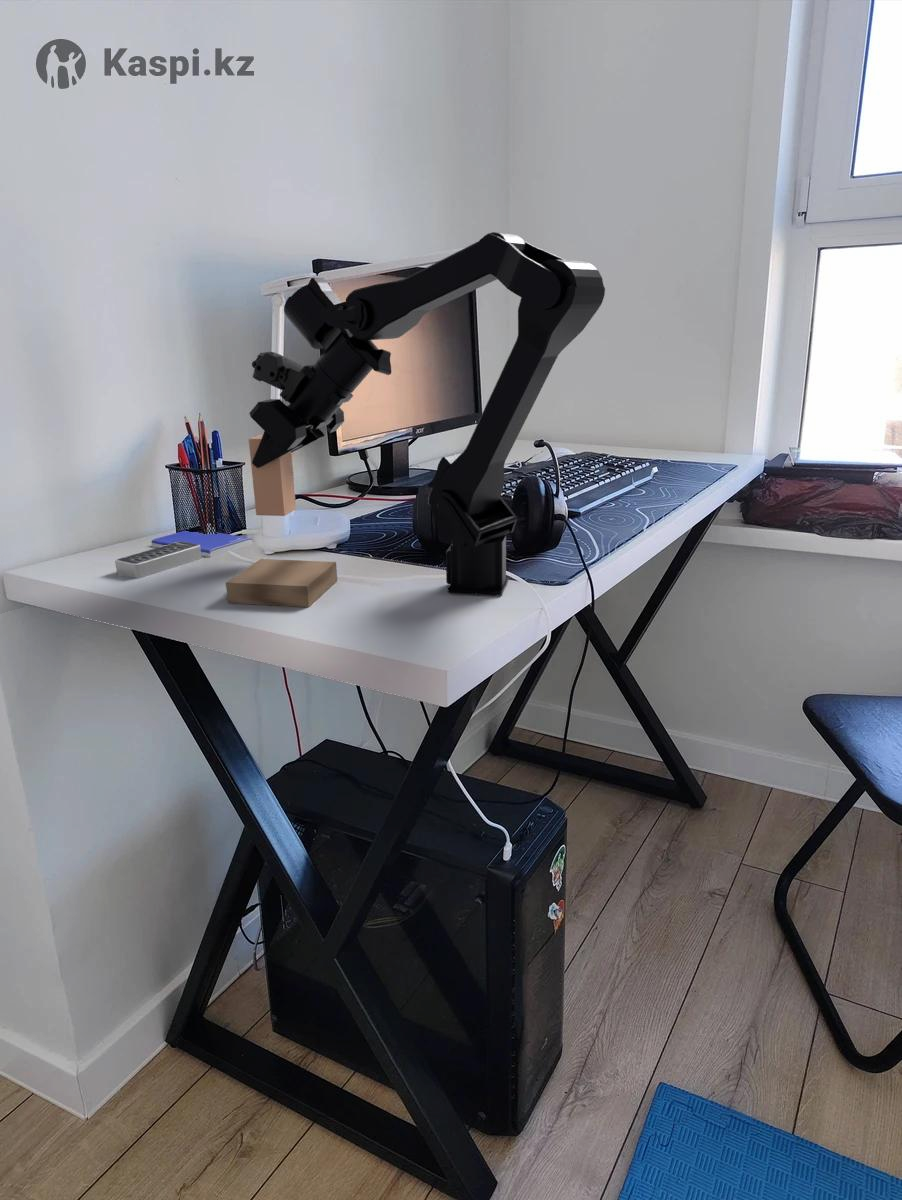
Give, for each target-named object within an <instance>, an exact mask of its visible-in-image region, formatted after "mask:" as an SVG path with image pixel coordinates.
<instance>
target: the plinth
mask: <svg viewBox="0 0 902 1200" xmlns="http://www.w3.org/2000/svg"><path fill="white" fill-rule="evenodd" d="M337 582H338V569H337V562H336V561H326V560H323V561H320V560H299V559H298V560H297V559H296V560H295V559H273V558H271V559H270V558H260V559H259V560H257V561H256V562H254V563H253V564H251V565H249V566H248V567H247V568H245V569H243V570H242V571H241V572H239V573H237V574H236V575H234V577H232V578H231V579H228V580H227V581H226V582H225V587H226V588H225V589H226V596H227V603H228V604H239V605H240V604H242V605H243V604H245V605H261V606H262V605H263V606H279V607H280V606H282V607H301V608H309V607H311V606H312V605H313V604H314V603H315V602H317V601H318V599H320V598H321V596H323V595H324V594H325V593H326V592H328V590H330V589H331V587H333V586H334V585H335V584H336V583H337Z"/></svg>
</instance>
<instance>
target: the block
mask: <svg viewBox="0 0 902 1200" xmlns="http://www.w3.org/2000/svg"><path fill="white" fill-rule="evenodd" d="M262 437H263V434H259V435H257V436H253V437H250V438H248V444H249V445H248V447H249V454H250V455H249V457H250V466H251V476H252V487H253V495H254V506H255V516H264V517H265V516H266V517H267V516H269V517H270V516H272V517H273V516H274V517H277V516H278V517H285V516H288V515H289V514H291V513H293V512H294V511H296V510H297V502H296V492H295V479H294V469H293V456H292V453H291V452H289V453H287V454H285V455H283V456H281V457H279V458H277V459H275V460H273V461H271V462H270V463H268V464H266V465H264V466H262V467H260V468H256V467H255V466H254V465H253V463H252V461H253V458H254V456H255V454H256V451H257V449H258V446H259V444H260V442H261V439H262Z"/></svg>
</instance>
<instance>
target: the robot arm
mask: <svg viewBox="0 0 902 1200" xmlns="http://www.w3.org/2000/svg"><path fill="white" fill-rule="evenodd" d="M497 280H498V282H500V283H501V285H503V286H504V287H505V289H507V290H509V291H510V292H511V293H512V294H515V295H517V296H518V297H520V301H519V305H518V306H517V308H518V309H517V337H516V340H515V342H514V344H513V347H512V349H511V351H510V353H509V355H508V357H507V360H506V362H505V364H504V366H503V368H502V371H501V372H500V374H499V377H498V379H497V382H496V383H495V385H494V388H493V390H492V391H491V394H490V396H489V398H488V401H487V402H486V405H485V407H484V409H483V411H482V413H481V415H480V418H479V420H478V422H477V424H476V426H475V428H474V430H473V433H472V435H471V437H470V438H469V440H468V441H469V442H468V444H467V445H466V448H465V449H464V451H462V452H458V453H455V454H451V455H446V456H442V457H441V459H440V461H439V463H438V465H437V467H436V471H435V475H434V477H433V479H432V480H431V481H430V482H429V483H427V487H428V488H431V489H430V491H429V494H428V502H427V504H428V505H429V507H430V510H431V513H432V515H433V517H434V522H435V523H436V527H437V530H438V533H439V537H440V540H441V543H443V544H446V545H447V544H448V545H449V547H448V549H447V550H446V551H445V571H446V572H445V575H446V576H445V577H446V584H447V585H449V586H448V587H447V593H448V594H461V595H462V594H463V595H482V596H483V595H485V596H502V595H503V593H504V591H505V589H506V586H507V584H508V582H509V579H510V578H509V576H508V575H507V534H512V533H514V530H515V528H516V526H517V522H518V517H517V515H516V514H515V512H514V511H513V510H512V508H511V507H510V506H509V505H508V503H507V502H506V501H505V500H504V498H503V497H502V494H503V490H504V487H505V463H506V460H507V458H508V456H509V454H510V452H511V450H512V449H513V446H514V444H515V442H516V440H517V438H518V436H519V435H520V433H521V430H522V428H523V426H524V425H525V422H526V420H527V418H528V416H529V414H530V412H531V411H532V408H533V406H534V404H535V403H536V400H537V398H538V396H539V394H540V393H541V390H542V389H543V387H544V384H545V382H546V381H547V378H548V377H549V374H550V373H551V371H552V368H553V366H554V364H555V362H556V361H557V359H558V356H559V355H560V354H561V353H562V351H564V349H565V348H566V347H568V346H569V345H570V344H571V342H572V341H574V339H576V337H578V336H579V335H580V334H581V333H582V332H583V331H584V329H585V328H586V326H588V324H589V322H590V321H591V320H592V319H593V317H594V316H595V314H596V313H597V311H598V310H599V309H600V308H601V306H602V304H603V301H604V299H605V293H606V288H605V285H604V282H603V277H602V275H601V273H600V271H599V269H598V268H596V266H594V265H593V264H592V263H591V262H590V263H589V262H587V261H584V260H570V259H569V260H568V259H565V258H563V257H561V256H558V255H556V254H554V253H551V252H549V251H547V250H545V249H542V248H540V247H537V246H536V245H533V244H532V243H529V242H528V241H526V240H524V239H523V238H521V236H519V235H517V234H512V233H504V232H497V231H495V232H494V231H493V232H489V233H487V234H485V235H483V237H482V238H480V239H479V240H478V241H476V242H474V243H472V244H470V245H468V246H467V247H465V248H462V249H460V250H458V251H456V252H453V254H450V255H448V256H446V257H445V258H442V259H441V260H438V261H437V262H435V263H433V264H431V265H429V266H427V267H425V268H423V269H421V270H419V271H417V272H415V273H413V274H412V275H409V276H407V277H405V278H403V279H399V280H395V281H388V282H382V283H378V284H377V283H376V284H372V285H368V286H364V287H361V288H360V287H359V288H356V289H354V290H352V291H351V292H349V293H348V295H347V297H346V298H345V301H342V300H341V299H340V298H339V297H338V296H337V294H336V293H335V292H334V291H333V289H332V288H331V286H330V284H329V282H328V281H327V280H326V279H325V278H324V277H311V278H310V280H309V282H308V283H307V284H306V285H303V286H302V287H300V288H298V289H297V290H296V291H294V293H292V295H291V296H288V298H287V299H286V301H285V302H284V307H283V313H284V315H285V317H286V318H287V319H288V321H289V322H290V323H291V324H292V325H293V326H294V328H296V329H295V330H297V331H298V332H299V333H300V335H301V336H302V338H303V339H304V340H305V342H307V343H308V344H309V346H310V347H312V348H313V349H314V350H321V349H324V351H323V353H322V354H321V356H319V358H318V359H317V360H316V362H315V363H314V364H311V365H308V364H307V365H302V364H301V363H298V362H296V361H294V360H292V359H290V358H288V357H286V356H284V355H281V354H280V353H277V352H273V351H265V352H260V353H259V354H258V355H257V357H256V359H255V360H253V361H252V362H251V366H252V368H254V369H253V374H252V378H253V379H254V380H256V381H258V382H264V383H266V384H267V385H270V386H272V387H275V388H276V389H278V390H281V392H280V393H279V396H280V397H281V398H282V399H283V400H284V401H285V402H288V405H286V404H285V402H283V401H282V399H280V398H278V399H277V398H276V399H275V398H273V399H272V398H269V399H265V400H260V401H258V402H257V403H256V404H255V405H254V407H253V408H252V409H251V410H250V412H249V416H250V418H251V419H252V420H253V421H254V422H255V423H256V424H257V425H259V427H260V428H261V429H262V430H263V433H262V435H263V437H262V439H261V442H260V444H259V446H258V449H257V451H256V454H255V456H254V458H253V461H252V463H253V465H254V466H255V467H256V468H260V467H262V466H264V465H266V464H268V463H270V462H271V461H273V460H275V459H277V458H279V457H281V456H283V455H285V454H287V453H289V452H291V454H292V453H295V452H296V451H299V450H300V449H302V448H304V447H306V446H308V445H311V444H312V443H314V442H317V441H318V440H320V439H322V438H324V437H325V433H324V432H323V431H322V430H321V429H320V428H322V427H325V426H328V427H327V428H326V431H327V432H328V433H329V434H331V433H334V432H337V430H338V429H339V428H340V427H341V426H342V424H343V423H344V422H345V412H344V411H343V409H341V408H340V407H341V406H342V405H343V404H345V403H348V402H350V401H351V399H352V398H353V397H354V395H353V394H352V393H353V392H354V391H355V390H356V389H357V387H358V386H359V385H360V384H361V383H362V382H363V381H364V379H366V377H367V376H368V375H369V374H370V373H371V371H374V372H377V373H380V374H383V375H386V376H389V375H392V364H391V356H392V353H391V352H390V351H389V350H386V349H384V348H380V349H379V348H378V347H377V345H375V343H374V342H373V341H374V340H375V341H376V340H379V341H380V340H394V339H398V338H400V337H402V336H404V335H405V334H406V333H408V332H409V331H411V329H413V328H414V327H416V326H417V325H418V324H419V323H420V321H421V320H422V318H423V317H424V316H425V315H426V314H427V313H429V312H430V311H431V310H434V309H436V308H439V307H441V306H442V305H445V304H447V303H449V302H451V301H453V300H456V299H458V298H460V297H462V296H464V295H466V294H468V293H471V292H473V291H475V290H477V289H479V288H481V287H484V286H486V285H487V284H491V283H492V282H495V281H497ZM476 522H477V523H476Z"/></svg>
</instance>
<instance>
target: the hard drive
mask: <svg viewBox="0 0 902 1200" xmlns="http://www.w3.org/2000/svg"><path fill="white" fill-rule="evenodd" d="M216 533H217V534H203V533H199V532H189V531H186V530H183V531H179V532H176V533H171V534H167V535H164V536H161V537H157V538H153V539H152V540H151V547H155V548H158V547H161V546H165V545H168V544H172V543H175V542H180V541H181V542H186V543H192V544H197V545H200V549H201V557H208V558H213V557H216V556H220V555H222V554H225V553H228V551H229V550H232V551H234V550H238V549H242V548H245V547H247V546H251V545H253V544H254V541H253V538H252V537H247V536H241V535H235V534H228V533H221V532H216ZM229 552H230V551H229Z"/></svg>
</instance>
